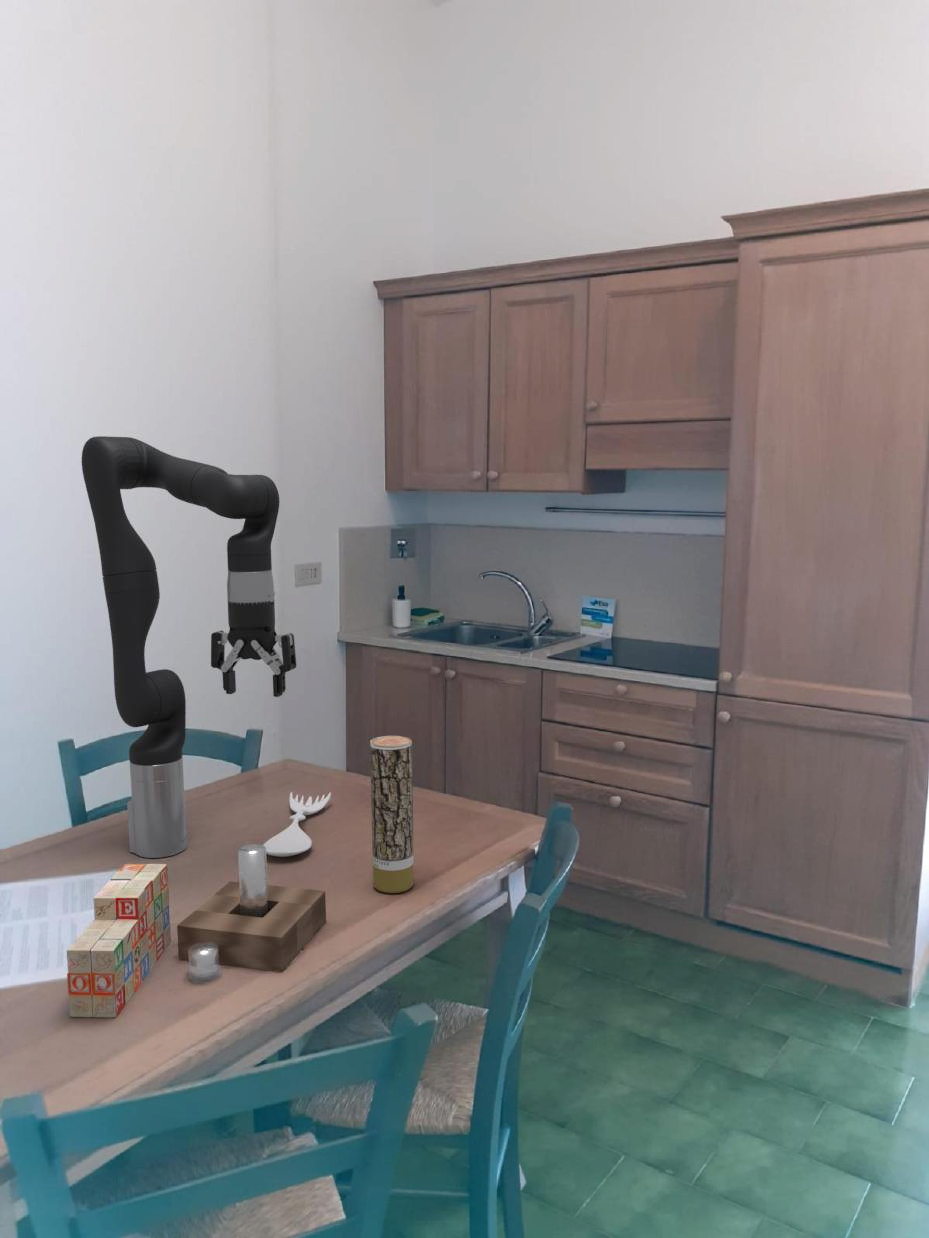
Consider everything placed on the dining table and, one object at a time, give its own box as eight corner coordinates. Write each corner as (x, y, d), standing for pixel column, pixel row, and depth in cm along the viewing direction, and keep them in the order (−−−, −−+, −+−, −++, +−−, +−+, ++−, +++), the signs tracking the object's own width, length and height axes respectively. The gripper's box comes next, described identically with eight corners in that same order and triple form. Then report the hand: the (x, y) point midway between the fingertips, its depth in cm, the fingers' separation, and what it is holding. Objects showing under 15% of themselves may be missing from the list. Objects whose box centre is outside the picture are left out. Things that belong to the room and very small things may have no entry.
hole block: (178, 958, 143) (177, 925, 142) (231, 911, 158) (230, 881, 157) (282, 971, 139) (281, 937, 138) (326, 921, 154) (325, 890, 153)
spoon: (333, 805, 208) (332, 789, 208) (306, 865, 177) (305, 846, 176) (290, 805, 209) (289, 789, 208) (255, 865, 177) (255, 847, 176)
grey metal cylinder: (184, 981, 136) (182, 953, 136) (198, 967, 140) (197, 940, 140) (210, 984, 135) (209, 957, 135) (224, 970, 139) (223, 943, 139)
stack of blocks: (117, 1019, 127) (112, 927, 125) (69, 1018, 127) (62, 927, 126) (171, 941, 148) (167, 862, 146) (130, 940, 148) (125, 861, 147)
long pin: (236, 943, 147) (233, 852, 145) (248, 931, 151) (245, 843, 149) (261, 946, 146) (258, 855, 144) (273, 934, 150) (270, 845, 148)
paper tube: (398, 898, 162) (395, 748, 159) (364, 889, 166) (361, 743, 162) (421, 883, 168) (419, 739, 164) (389, 875, 172) (386, 733, 168)
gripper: (200, 599, 162) (204, 697, 164) (281, 601, 158) (284, 701, 161) (222, 594, 169) (226, 688, 171) (300, 596, 165) (303, 692, 168)
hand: (254, 694), depth 166 cm, fingers open, 8 cm apart
